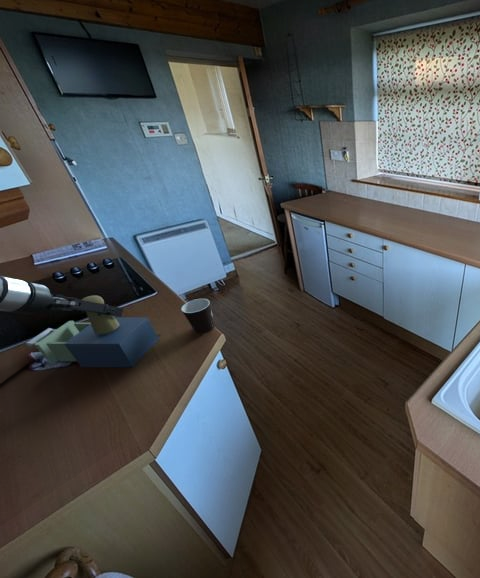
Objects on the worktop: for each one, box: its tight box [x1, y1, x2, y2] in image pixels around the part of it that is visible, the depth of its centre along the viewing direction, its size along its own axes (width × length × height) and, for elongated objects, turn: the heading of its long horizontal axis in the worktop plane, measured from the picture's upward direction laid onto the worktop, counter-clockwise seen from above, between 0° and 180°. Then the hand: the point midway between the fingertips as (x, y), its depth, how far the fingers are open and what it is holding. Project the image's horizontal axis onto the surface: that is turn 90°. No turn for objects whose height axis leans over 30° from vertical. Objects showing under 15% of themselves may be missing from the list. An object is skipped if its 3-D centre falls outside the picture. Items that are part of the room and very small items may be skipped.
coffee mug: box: [181, 298, 215, 335], centre depth 105 cm, size 12×9×10 cm
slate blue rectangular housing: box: [65, 317, 160, 368], centre depth 92 cm, size 16×13×10 cm
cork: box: [81, 294, 120, 335], centre depth 87 cm, size 6×6×11 cm
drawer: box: [25, 320, 91, 365], centre depth 92 cm, size 20×11×8 cm, turn 91°
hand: (112, 311), depth 91 cm, fingers closed on cork, 5 cm apart
